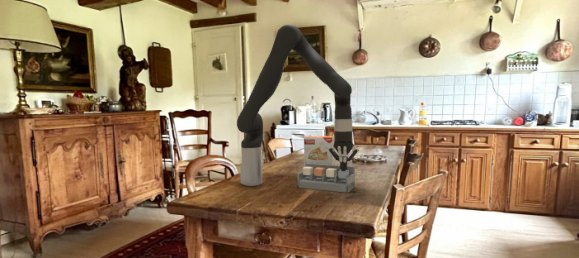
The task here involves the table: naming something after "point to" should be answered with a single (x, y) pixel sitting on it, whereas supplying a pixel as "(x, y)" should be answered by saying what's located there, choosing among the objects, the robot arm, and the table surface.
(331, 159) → the cracker box
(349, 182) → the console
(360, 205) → the table surface
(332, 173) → the ivory key
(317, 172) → the key terracotta
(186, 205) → the table surface
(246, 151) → the robot arm
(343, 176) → the key blue
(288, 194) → the table surface
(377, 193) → the table surface
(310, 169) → the ivory key
